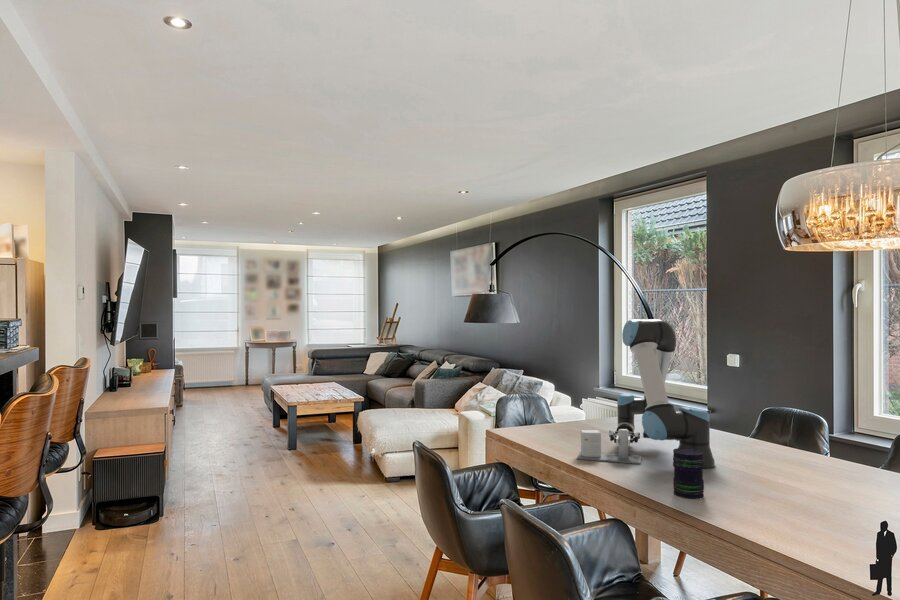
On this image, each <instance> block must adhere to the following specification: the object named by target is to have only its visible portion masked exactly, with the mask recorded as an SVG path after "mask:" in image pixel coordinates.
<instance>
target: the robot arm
mask: <svg viewBox="0 0 900 600" xmlns="http://www.w3.org/2000/svg"><path fill="white" fill-rule="evenodd" d="M621 335H622V336H621V337H622V343H623V344H624V345H625V346H627V347H629V349H630V352H631V353H632V354H634V355H635V359H636V362H637V368H638V371H639V376H640V380H641V384H642V388H643V392H644V397H637V398H636V397H635V395H633V394H630V393H619V394H618V395H617V406H616V407H617V427H616V430H615V431H612V430H608V436H609V441H610V442H612V441H613V443H614V444H616V446H619V429H627V430H628V447H631V444H633V443H635V444H637V443H638V442H639V439H641V432H635V431H634V430H635V415H642V416H641V425H642V429H643V432H644V431H645V433H646V434H647V436H648V437H647V438H650V439H651V440H653V441H669V440H673V441H674V440H676V439H680V440H679V442H678V443H679V445H678V447H677V448H690V449H696V450H700V451H702V452H703V460H704V464H703V466H704V467H703V469H711V468H713V467H715V465H716V463H715V458H714V456H713V451H712V449H711V446H710V444H711V443H710V442H711V440H710V439H711V438H710V422H711V420H710V414H709V412H708V411H707V410H704V409H702V408H697V407H692V406H683V405H682V406H679V407H678V410H676V409H675V407H674V404H673V403H671V402H669V399H668V395H667V391H666V387H665V383H666V380H667V379H666V378H667V375H668V371H669V367H670V362H671V359H672V358H671V357H672V354H673V353H674V352H675V351H676V347H677V335H676V332H675V330H674V328H673V327H672V325H671V324H670V323H669V322H667V320H666V321H665V320H663V319H658V318H657V319H637V318H636V319H629V320H627V321H626V322H625V323H624V325H623V330H622V334H621Z"/></svg>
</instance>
